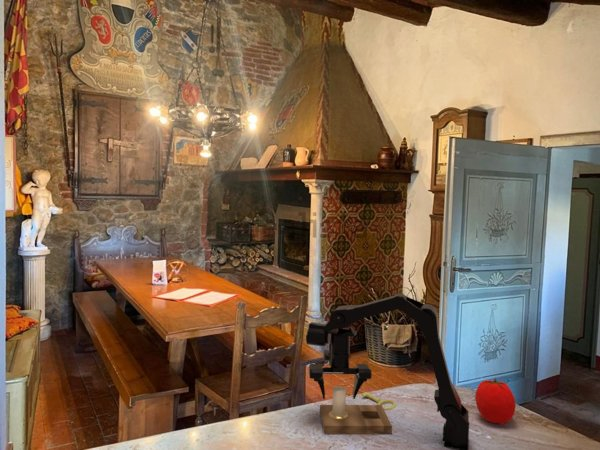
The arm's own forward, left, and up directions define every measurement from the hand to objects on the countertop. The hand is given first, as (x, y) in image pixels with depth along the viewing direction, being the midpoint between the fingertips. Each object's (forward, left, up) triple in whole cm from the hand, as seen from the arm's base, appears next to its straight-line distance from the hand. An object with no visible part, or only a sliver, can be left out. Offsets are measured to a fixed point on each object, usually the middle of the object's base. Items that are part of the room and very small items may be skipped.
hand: (338, 398), depth 145 cm
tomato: (-45, -22, -8) cm, 50 cm away
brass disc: (0, 0, -5) cm, 5 cm away
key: (-8, -19, -8) cm, 23 cm away
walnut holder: (-5, -2, -8) cm, 9 cm away
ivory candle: (0, 0, -5) cm, 5 cm away
